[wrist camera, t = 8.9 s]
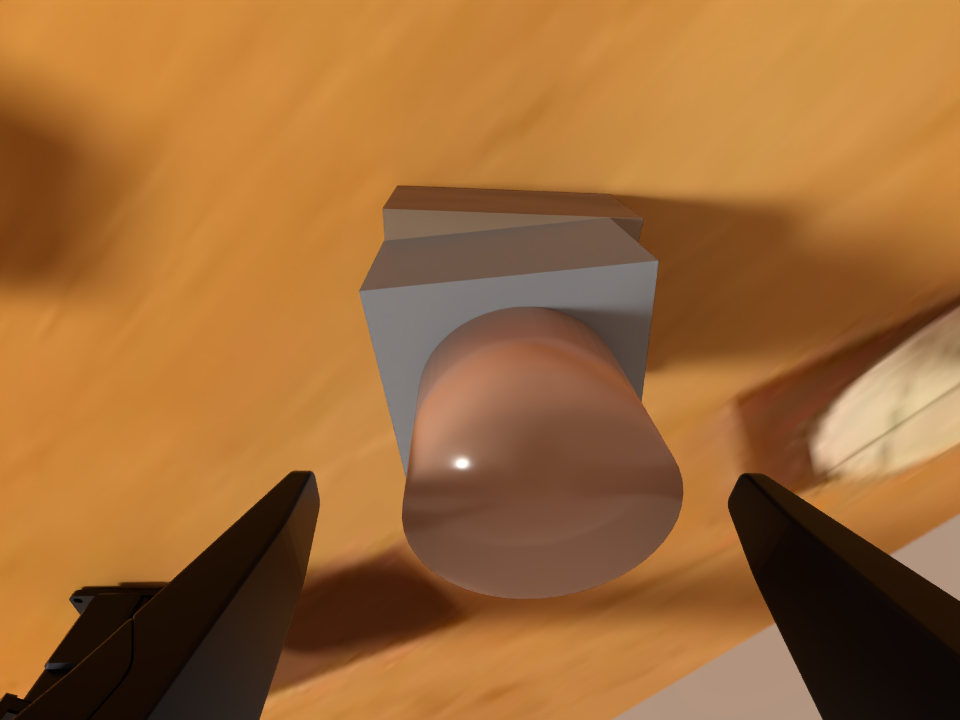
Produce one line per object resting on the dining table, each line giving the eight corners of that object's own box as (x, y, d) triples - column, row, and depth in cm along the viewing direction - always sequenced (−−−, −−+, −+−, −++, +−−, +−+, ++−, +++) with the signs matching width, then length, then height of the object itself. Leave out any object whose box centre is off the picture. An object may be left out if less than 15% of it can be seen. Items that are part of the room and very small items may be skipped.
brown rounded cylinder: (640, 309, 11) (723, 409, 8) (598, 472, 14) (644, 597, 10) (415, 303, 11) (395, 404, 7) (420, 470, 13) (406, 600, 10)
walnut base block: (575, 367, 21) (597, 421, 18) (406, 364, 21) (396, 418, 17) (607, 192, 17) (643, 218, 14) (398, 184, 17) (382, 208, 13)
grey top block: (598, 399, 17) (632, 475, 14) (420, 417, 17) (410, 497, 14) (609, 217, 14) (658, 260, 10) (383, 240, 14) (359, 291, 10)
